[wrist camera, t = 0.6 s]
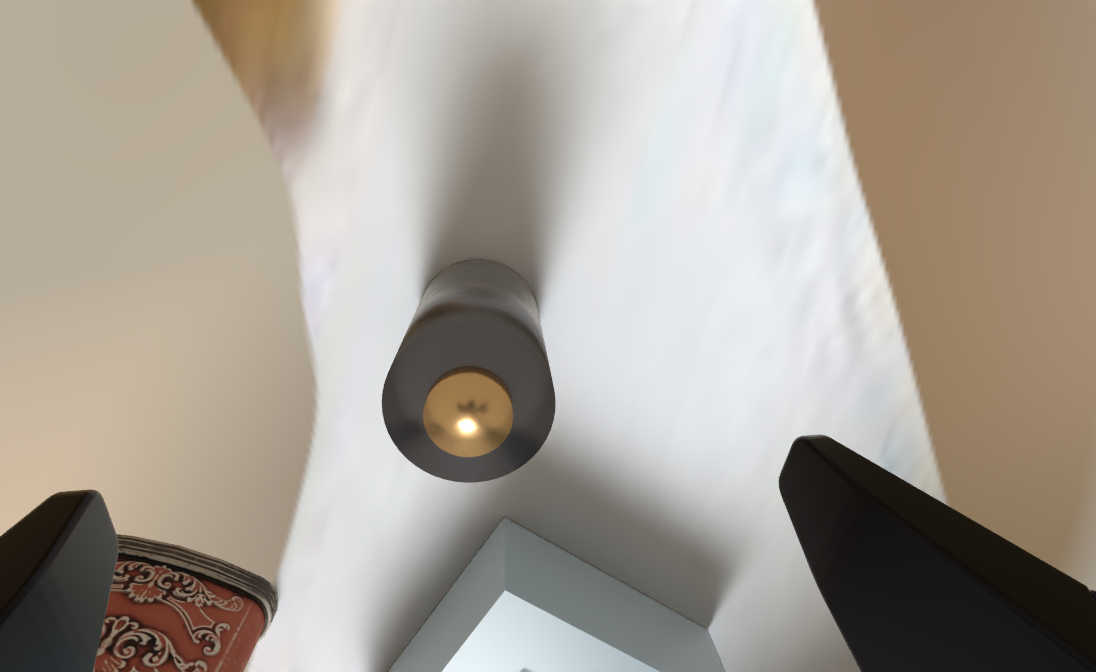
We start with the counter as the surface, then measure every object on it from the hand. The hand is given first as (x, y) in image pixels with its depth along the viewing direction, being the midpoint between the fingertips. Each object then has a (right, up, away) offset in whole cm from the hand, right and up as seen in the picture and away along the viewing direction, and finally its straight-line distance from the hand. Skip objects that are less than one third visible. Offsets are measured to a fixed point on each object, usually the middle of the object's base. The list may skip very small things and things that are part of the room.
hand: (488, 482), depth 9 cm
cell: (-2, +3, +14) cm, 14 cm away
